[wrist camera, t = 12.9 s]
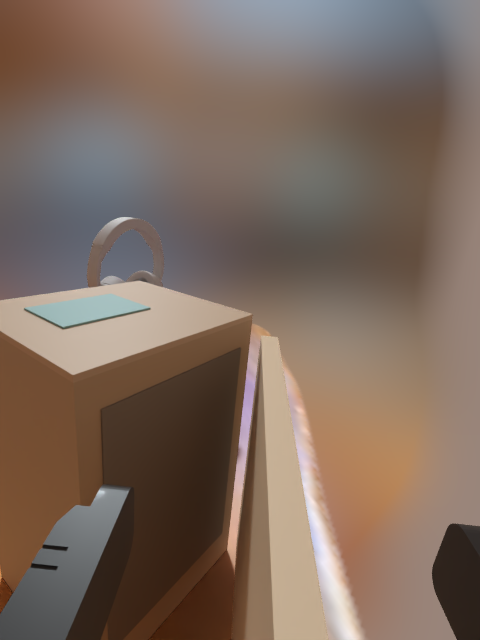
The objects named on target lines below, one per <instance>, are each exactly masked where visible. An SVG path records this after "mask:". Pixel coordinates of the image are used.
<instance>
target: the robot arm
mask: <svg viewBox="0 0 480 640" xmlns="http://www.w3.org/2000/svg"><path fill="white" fill-rule="evenodd" d="M133 536H134V488H133V487H126V486H117V485H108V484H103V485H102V486H101V487H100V489H99V491H98V493H97V495H96V496H95V498H94V500H93V502H92V504H91V506H81V505H75V506H74V507H73V508H72V509H71V510H70V511H69V512H67V513H66V514H65V515H64V516H63V517H62V518H61V519H60V520H58V521H57V522H56V524H55V525H54V527H53V529H52V530H51V532H50V534H49V535H48V537H47V538H46V540H45V542H44V543H43V547H42V549H40V550H39V552H38V553H37V555H36V556H35V558H34V560H33V561H32V563H31V567H30V568H28V570H27V571H26V573H25V575H24V576H23V578H22V579H21V581H20V583H19V584H18V586H17V588H16V589H15V591H14V593H13V594H12V596H11V597H10V599H9V601H8V602H7V604H6V606H5V607H4V609H3V611H2V612H1V614H0V640H101V637H102V634H103V631H104V629H105V626H106V623H107V620H108V617H109V614H110V611H111V608H112V606H113V603H114V600H115V597H116V594H117V591H118V588H119V585H120V582H121V580H122V577H123V574H124V571H125V568H126V565H127V562H128V559H129V556H130V552H131V548H132V543H133ZM432 579H433V585H434V589H435V592H436V595H437V597H438V600H439V602H440V604H441V606H442V608H443V610H444V613H445V615H446V617H447V619H448V621H449V623H450V626H451V628H452V630H453V632H454V634H455V636H456V639H457V640H480V526H472V525H463V524H450V525H449V526H448V528H447V530H446V533H445V536H444V538H443V541H442V543H441V546H440V549H439V551H438V554H437V556H436V559H435V562H434V564H433V569H432Z"/></svg>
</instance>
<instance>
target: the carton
mask: <svg viewBox="0 0 480 640" xmlns="http://www.w3.org/2000/svg"><path fill="white" fill-rule="evenodd" d="M252 316H253V315H252V314H250V313H247V312H243V311H240V310H237V309H233V308H230V307H226V306H223V305H220V304H217V303H213V302H210V301H207V300H203V299H200V298H196V297H193V296H189V295H186V294H183V293H179V292H176V291H173V290H170V289H166V288H163V287H160V286H156V285H153V284H150V283H146V282H143V281H134V282H127V283H120V284H113V285H105V286H98V287H91V288H85V289H78V290H70V291H64V292H57V293H49V294H42V295H35V296H29V297H21V298H14V299H7V300H0V568H1V574H2V577H3V579H4V580H5V582H6V583H7V585H8V586H9V587H10V589H11V590H12V592H13V593H14V591H15V589H16V588H17V586H18V584H19V583H20V581H21V579H22V578H23V576H24V575H25V573H26V571H27V570H28V568H30V567H31V563H32V561H33V560H34V558H35V556H36V555H37V553H38V552H39V550H40V549H42V547H43V543H44V542H45V540H46V538H47V537H48V535H49V534H50V532H51V530H52V529H53V527H54V525H55V524H56V522H57V521H58V520H60V519H61V518H62V517H63V516H64V515H65V514H66V513H67V512H69V511H70V510H71V509H72V508H73V507H74V506H75V505H81V506H91V504H92V502H93V500H94V498H95V496H96V495H97V493H98V491H99V489H100V487H101V486H102V485H103V484H108V485H117V486H126V487H133V488H134V536H133V543H132V548H131V552H130V556H129V559H128V562H127V565H126V568H125V571H124V574H123V577H122V580H121V582H120V585H119V588H118V591H117V594H116V597H115V600H114V603H113V606H112V608H111V611H110V614H109V617H108V620H107V623H106V626H105V629H104V631H103V634H102V637H101V640H148V639H149V638H150V637H151V636H152V635H153V634H154V632H155V631H156V630H157V629H158V628H159V627H160V626H161V624H162V623H163V622H164V621H165V620H166V619H167V617H168V616H169V615H170V614H171V613H172V612H173V611H174V609H175V608H176V607H177V606H178V605H179V604H180V603H181V601H182V600H183V599H184V598H185V597H186V596H187V595H188V593H189V592H190V591H191V590H192V589H193V588H194V587H195V585H196V584H197V583H198V582H199V581H200V580H201V578H202V577H203V576H204V575H205V574H206V573H207V572H208V570H209V569H210V568H211V567H212V566H213V565H214V564H215V562H216V561H217V560H218V559H219V558H220V557H221V556H222V554H223V553H224V552H225V551H226V550H227V545H228V536H229V527H230V518H231V508H232V499H233V490H234V481H235V472H236V463H237V454H238V444H239V435H240V426H241V417H242V408H243V399H244V390H245V380H246V371H247V362H248V353H249V344H250V335H251V326H252Z"/></svg>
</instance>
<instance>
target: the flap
mask: <svg viewBox="0 0 480 640" xmlns="http://www.w3.org/2000/svg"><path fill="white" fill-rule="evenodd" d="M231 640H328V634H327V628H326V622H325V616H324V610H323V604H322V598H321V592H320V586H319V580H318V574H317V568H316V562H315V556H314V550H313V544H312V539H311V533H310V527H309V521H308V515H307V509H306V503H305V497H304V491H303V485H302V479H301V473H300V467H299V461H298V455H297V449H296V443H295V437H294V431H293V425H292V419H291V413H290V407H289V401H288V395H287V389H286V383H285V377H284V371H283V365H282V359H281V353H280V347H279V342H278V338H277V337H269V336H261V341H260V349H259V358H258V366H257V374H256V383H255V391H254V400H253V408H252V416H251V425H250V433H249V441H248V450H247V458H246V467H245V475H244V483H243V492H242V500H241V508H240V517H239V525H238V534H237V546H236V564H235V582H234V600H233V618H232V636H231Z"/></svg>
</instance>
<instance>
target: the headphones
mask: <svg viewBox="0 0 480 640" xmlns="http://www.w3.org/2000/svg"><path fill="white" fill-rule="evenodd" d="M131 229H134V230H136V231H138V232H139V233H140V234H141V235H142V236H143V238H144V239H145V241H146V243H147V244H148V246H150V248H151V250H152V252H153V260H154V269H153V274H151V273H149V272H147V271H139V272H136V273H134V274H132V275H131V276H130V277H129V278H128V279H127V281H126V282H124V281H123V280H121V279H119V278H118V277H114V276H109V277H106V278H105V279H103V280H102V281H101V282H100V272H101V262H102V261H103V259H104V257H105V255H106V253H108V251H110V249H111V247H112V245H113V244H114V242H115V241H116V240H117V238H118V237H119V236H120V235H122V234H123V233H124V232H126V231H128V230H131ZM160 240H161V239H160V237H159V235H158V233H157V232H156V230H155V229H154V228H153V226H151V225H150V224H149V223H148V222H146V221H144V220H142V219H137V218H129V217H122V218H117V219H115V220H113V221H111V222H109V223H108V224H107V225H106V226H104V227H103V228H102V229H101V231H100V232H99V233H98V235H97V236H96V238H95V240H94V241H93V245H92V249H91V253H90V257H89V262H88V269H87V280H88V286H89V288H91V287H98V286H105V285H113V284H120V283H127V282H134V281H143V282H146V283H150V284H153V285H156V286H160V287H163V284H162V282H161V280H162V276H163V270H164V256H163V250H162V245H161V241H160Z"/></svg>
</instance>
